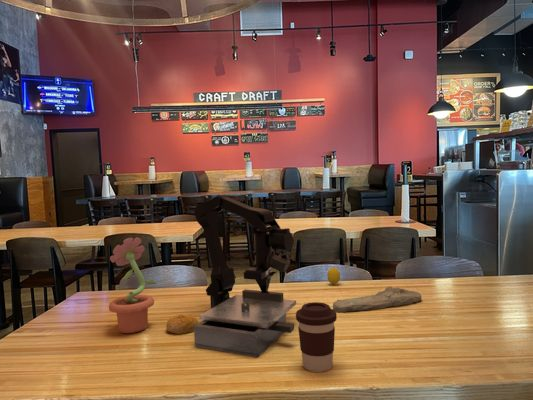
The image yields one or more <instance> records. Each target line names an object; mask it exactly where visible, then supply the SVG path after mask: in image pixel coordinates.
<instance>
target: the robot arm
mask: <svg viewBox="0 0 533 400" xmlns="http://www.w3.org/2000/svg"><path fill="white" fill-rule="evenodd" d="M223 210H225V211H227V212H230V213H232V214H234V215H236V216H238V217H241V218H243V219H244V220H246V223H247V224H248V225H250V226H252V228H251V230H249V232H248V235H253V236H254V237H253V238H254V240H253V241H254V251H252V256H254V259H255V261H254V262H255V263H253V264H252V267H248V269H245V270H244V271H243V279H244V280H254V281H255V282H256V283H257V285H258V287H259V289H260V291H268V292H269V288H270V282H271V279H272V277H273V276H274V275H276V273H277V271H278V272H280V273H284V272H285V271H287V270H288V268H289V266H290V264H291V259H290V256H289V255H288V254H287V253H283V254H282V255H276V251H275V250H283V251H291V250H292V248H293V246H294V243H295V241H294V240H295V239H294V237H293V234H292V232H291V230H290V227H289V228H287V227H285V228H281V226H280V224H279V223H278V221H277V220H276V218H275V217H274V215H273V212H272V210H269V209H266V208H263V207H262V208H259V207H252V206H251V205H247V204H245V203H243V202H240V201H239V200H235V199H234V198H231V197H229V196H228V195H225V194H224V195H223V194H222V195H221V194H220V195H216V196H214V197H213V198H212V199H210V200H207V201H204V202H203V203H198V204H197V205H196V206H195V209H194V210H193V211H194V216H195V219H196V221H197V223H198V224H199V226H200V227H201V228H202V229H203V232H204V236H205V241H206V242H205V243H206V244H207V250H208V252H209V258H210V261H211V266H212V269H211V272H210V283H209V285H208V286H207V287H206V289H205V292H206V296H209V297H210V308H209V309H208V310H210V309H212V308H213V307H215V306H217V305H219V304H221V303H222V302H224V301H226V300H228V299H229V298H231V297H230V292H233V288H234V285H235V284H236V278H237V277H236V275H235V269H234V267H233V266H232V267H229V265H228V264H227V262H226V258H225V253H224V251H223V247H222V242H221V237H220V234H219V230H218V223H219V222H218V221H219V218H220V217H219V213H220V212H222V211H223ZM273 269H275V270H277V271H273Z"/></svg>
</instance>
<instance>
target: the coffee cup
mask: <svg viewBox="0 0 533 400" xmlns="http://www.w3.org/2000/svg"><path fill="white" fill-rule="evenodd" d="M295 320H296V321H297V322H298V327H297V329H298V336H299V349H300V351H301V358H302V359H301V360H302V365H303V368H305V369H306V370H307V371H309V372H312V373H324V372H327V371H329V370H330V369H332V367H333V362H334V361H333V359H334V350H335V332H336V331H335V330H336V327H335V322H336V321H337V320H338V319H337V312H335V311H334V310H333V308H331V307H330V305H329V304H327V303H324V302H317V301H315V302H314V301H313V302H308V303H304V304H303V305H302V306H301V308H299V309H297V311H296V312H295Z"/></svg>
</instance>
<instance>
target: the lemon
mask: <svg viewBox="0 0 533 400" xmlns="http://www.w3.org/2000/svg"><path fill="white" fill-rule="evenodd" d="M326 278H327V280H328V281H327V282H329V283H330V284H332V285H333V286H335V285H336V284H338V283H339V282H340V280H341V273H340V269H338V268H337V267H335V266H332V267H331V268H329V269H328V270H327V275H326Z"/></svg>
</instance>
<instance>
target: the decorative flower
mask: <svg viewBox="0 0 533 400" xmlns="http://www.w3.org/2000/svg"><path fill="white" fill-rule="evenodd" d="M141 244H142V239H141V238H139V237H135V238H133V237H128V238H126V239H124V240H123V244H121V245H120V244H117V245H116V246H115V247H114V249H113V250H112V254H113V255H111V256H110V257H109V260H110V262H111V263H115V264H116V266H118V267H119V266H120V267H121V266H122V267H123V266H125V265H128V264H130V266H131V268H132V269H130V270H129V271H127V272H126V273H125V275H124V277H123V280H124V281H125V280H127V279H129V278H130V277H131V276H132V275H133V272H134V273H135V276H136V278H137V280H138V283H139V285H138V287H137V288H136V289H134V290H132V291H130V292H129V293H128V294H127V295H126V296H122V297H119V298H116V299H114V300H112V301H111V302H110V303H109V304H108V310H109V311H110V312H112V313H114V314H116V318H117V326H118V330H119V332H120V333H122V334H123V333H124V334H133V333H137V332H141V331H143V330H145V329H147V328H148V319H149V317H148V316H149V315H148V314H149V313H148V312H149V309H150V307H152V306H154V304H155V299H154V298H153V296H152V295H148V294H141V293H142V292H144V290H145V288H146V284H147V285H157V282H156V281H155V280H153V279H145V278H144V275H143V273H142V271H141V270H140V269H139V266H138V264H137V262H136V261H137V260H139V259H140V258H141V257H142V254H143V253H144V251H145V249H146V248H145V246H144V245H141Z"/></svg>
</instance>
